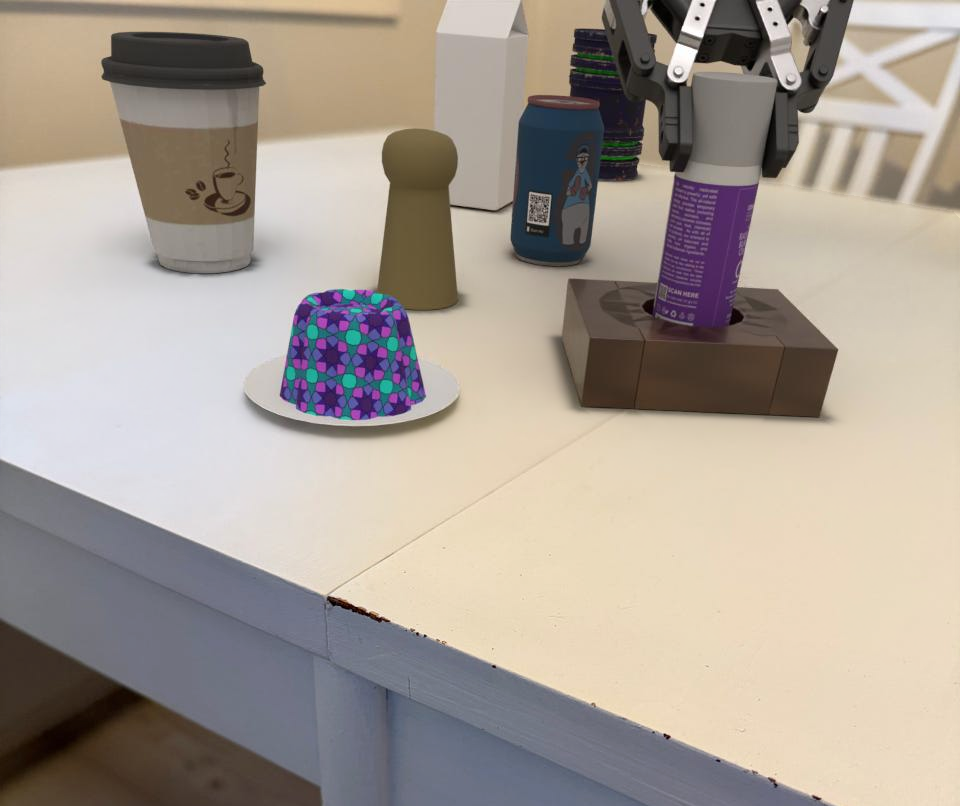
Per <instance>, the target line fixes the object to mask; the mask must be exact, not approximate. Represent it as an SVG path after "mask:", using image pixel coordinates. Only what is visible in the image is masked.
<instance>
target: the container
mask: <svg viewBox="0 0 960 806" xmlns="http://www.w3.org/2000/svg"><path fill="white" fill-rule="evenodd" d="M690 86H692V97H693V148H692V153H691V156H690V158H689V161H688V163H687V165H686V168H685V170H684V172H674V176H673V182H672V189H671V194H670V201H669V206H668V212H667V213H668V214H667V219H666V220H667V221H666V226H665V231H664V232H665V233H664V239H663V246H662V250H661V258H660V264H659V271H658V277H657V282H656V283H657V289H656V295H655V301H654V308H653V314H652V316H654V317H656V318H659V319H663V320H666V321H669V322H672V323H677V324H683V325H689V326H704V327H720V326H729V324H730V319H731V314H732V309H733V305H734V300H735V295H736V290H737V287H738V285H739V282H740V281H739V280H740V276H741V271H742V265H743V260H744V256H745V252H746V248H747V242H748V238H749V237H748V236H749V233H750V228H751V223H752V218H753V214H754V209H755V205H756V198H757V195H758V190H759V184H760V180H761V175H762V163H763V157H764V152H765V146H766V141H767V136H768V130H769V125H770V119H771V114H772V108H773V103H774V98H775V92H776V87H777V80H776V79H774V78H770V77H764V76H757V75H749V74H744V73H739V72H738V73H737V72H727V71H726V72H724V71H696V72H693V73H692V77H691V83H690Z"/></svg>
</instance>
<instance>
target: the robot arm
mask: <svg viewBox="0 0 960 806" xmlns="http://www.w3.org/2000/svg"><path fill="white" fill-rule="evenodd" d="M854 1H855V0H605V1H604V4H603V9H602V13H601V22H602V24H603V28H604V29H605V32H606V35H607V38H608V41H609V45H610V48H611V51H612V54H613V58H614V61H615V64H616V68H617V71H618V74H619V77H620V81H621V84H622V87H623V90H624V94H625V96H626V98H627V99H628V100H630V101H632V102H639V101H641V100H643V99H646V101H648V102H651V103H652V104H653V105H654V106H655V107H656V109H657V112H658V113H657V115H658V119H657V120H658V121H657V122H658V154H659V157H660V158H661V161H665V162H669V172H670V173H675V172H684V170H685V168H686V165H687V163H688V161H689V158H690V156H691V153H692V148H693V97H692V86H691V85H688V80H689V77H690V74H691V72H692V69H693V66H694V64H713V63H718V62H723V63H726V64H729V65H732V66H738V67H740V68H741V70H742V74H749V75H757V76H764V77H770V78H774V79H776V80H777V87H776V92H775V98H774V103H773V108H772V114H771V119H770V125H769V130H768V136H767V141H766V146H765V152H764V157H763V163H762V168H761V177H762V178H766V179H777V178H778V177H779V175H780V173H781V171H782V170H783V169H786V168H787V167H788V165H789V163H790V161H791V160H792V158H793V156H794V155H795V153H796V151H797V148H798V146H799V144H800V136H799V133H800V131H799V113H802V114H811V113H812V112H814V110H815V109H816V107H817V105H818V103H819V101H820V98H821V97H822V95H823V93H824V91H825V89H826V88H827V86H828V85H829V84H830V82H831V81H832V79H833V78H834V74H835V71H836V68H837V63H838V59H839V56H840V52H841V49H842V46H843V42H844V37H845V34H846V31H847V27H848V23H849V20H850V16H851V12H852V8H853V4H854ZM649 10H650V11H651V13H652V14H653V16H654V17H655V18H656V19H657V21H658V22H659V23H660V24H661V26H662V27H663V28H664V30H665V31H666V33H667V34H668V35H669V37H671V39H672V40H673V42H674V43H675V47H674V50H673V53H672V55H671V58H670V61H669V63H668V65H667V64H665V63H663V62H659V61H657V58H656V53H655V54H654V50H655V49H654V50H653V47H652V44H651V41H650V38H649V34H648V33H649V32H648V31H649V30H648V28H647V25H646V22H645V20H646V17H647V13H648V11H649ZM793 19H796V20H797V21H798V22H799V23H800V24H801V34H802V36H803V40H802V43H803V45H804V47H805V46H806V47H809V48H808V51H807V55H806V59H805V61H804V66H803V71H801V72H800V71H799V68H798V66H797V63H796V61H795V58H794V55H793V53H792V46H793V45H792V44H793V37H792V33H791V30H790V28H789V26H788V25H789V24H790V23H791V22H792V21H793Z"/></svg>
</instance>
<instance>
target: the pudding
mask: <svg viewBox="0 0 960 806" xmlns="http://www.w3.org/2000/svg"><path fill="white" fill-rule="evenodd" d="M292 319H293V320H292V324H291V331H290V336H289V341H288V347H287V351H286V354H283V355H281V356H277V357H275V358H271V359H270V360H267V361H264V362H263V363H261V364H259V365H258V366H256V367H254V368H253V369H252V370H251V371H250V372H249V373H248V374H247V375H246V377H245V379H244V381H243V390H244V392H245V394H246V396H247V397H248V398H249V399H250V400H251V402H253V403H254V404H256V405H258V406H259V407H261V408H263V409H265V410H266V411H269V412H271V413H272V414H273V413H274V414H277V415H278V416H282V417H286V418H289V419H292V420H297V421H302V422H306V423H311V424H318V425H327V426H336V427H338V426H339V427H374V426H383V425H386V426H387V425H394V424H400V423H404V422H405V423H406V422H410V421H414V420H417V419H418V420H419V419H421V418H424V417H428V416H431V415H433V414H435V413H438V412H440V411H442V410H444V409H446V408H447V407H449V406H450V405H451V404H452V403H453V402H454V401H455V400H456V399H457V398H458V396H459V393H460V392H461V391H460V383H459V381H458V379H457V377H456V376H455V375H454V374H453V373H452V372H451V371H449V370H448V369H446V368H445V367H443V366H442V365H440V364H438V363H436V362H434V361H431V360H429V359H426V358H423V357H420V356H418V355H417V350H416V344H415V340H414V337H413V332H412V327H411V324H410V319H409V315H408V313H407V311H406V309H404V307H403V306H402V305H401V304H400V302H399V301H398V300H397V299H395V298H394V297H393V296H390V295H386V294H378V293H377V291H374V290H370V289H369V290H368V289H345V288H334V289H327V290H325V291H323V292H313V293H310V294H307V295H306V296H304V297H303V299H301V301H300V303H299V304H298V305H297V307H296V309H295V312H294V315H293V318H292Z"/></svg>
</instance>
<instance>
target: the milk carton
mask: <svg viewBox="0 0 960 806" xmlns="http://www.w3.org/2000/svg"><path fill="white" fill-rule="evenodd" d="M526 19H527V18H526V16H525V10H524V5H523V1H522V0H446V3H445V6H444V9H443V11H442V14H441V17H440V19H439V22H438V25H437V28H436V30H435V64H434V65H435V67H434V70H435V71H434V102H433V103H434V104H433V108H434V109H433V110H434V111H433V131H437V132H440V133H443V134H445V135H447V136H449V137H450V138H451V139H452V140H453V142H454V145H455V147H456V149H457V155H458V165H457V170H456V174H455V177H454V179H453V180H452V182H451V183H450V184H449V198H450V206H457V207H459V206H460V207H464V208H465V207H466V208H475V209H481V210H489V211H497V210H499V209H501V208H503V207H505V206H507V205H509V204H510V203H513V194H514V180H515V167H516V153H517V139H518V125H519V120H520V118H521V116H522V114H523V112H524V105H525V104H524V103H525V92H526V91H525V90H526V77H527V63H528V62H527V61H528V49H529V48H528V47H529V37H530V36H529V29H528V25H527V20H526Z"/></svg>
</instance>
